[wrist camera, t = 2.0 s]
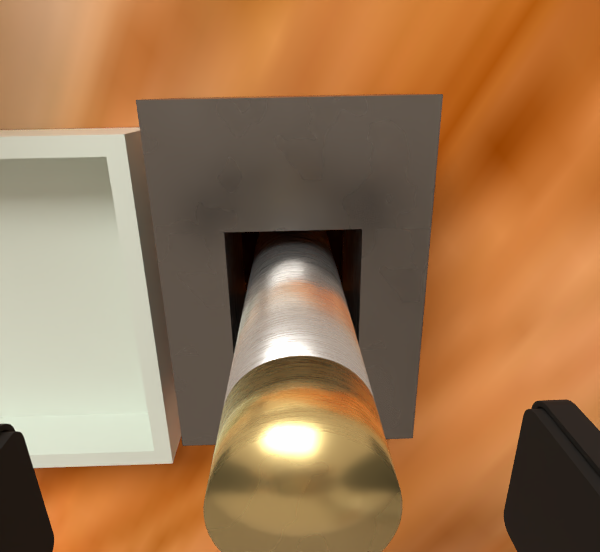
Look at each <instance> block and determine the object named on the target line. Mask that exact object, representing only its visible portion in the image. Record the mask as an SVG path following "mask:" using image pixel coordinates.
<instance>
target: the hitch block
mask: <svg viewBox="0 0 600 552" xmlns="http://www.w3.org/2000/svg"><path fill="white" fill-rule="evenodd" d="M442 98H443V94H381V95H326V96H271V97H217V98H171V99H148V100H136V104H137V112H138V119H139V126H140V134H141V141H142V149H143V156H144V163H145V171H146V178H147V185H148V193H149V200H150V208H151V215H152V222H153V230H154V237H155V245H156V252H157V259H158V267H159V274H160V282H161V289H162V296H163V304H164V311H165V319H166V326H167V333H168V341H169V348H170V356H171V363H172V370H173V378H174V385H175V392H176V400H177V407H178V415H179V422H180V429H181V437H182V444H183V446H188V445H216V440H217V435H218V431H219V426H220V421H221V416H222V411H223V406H224V401H225V396H226V391H227V386H228V381H229V376H230V371H231V366H232V361H233V357H234V352H235V347H236V342H237V337H238V332H239V327H240V322H241V317H242V312H243V307H244V302H245V297H246V291H245V276H244V260H243V245H242V232H259V231H301V230H343V258H342V288H343V292H344V295H345V299H346V302H347V306H348V309H349V313H350V316H351V320H352V323H353V327H354V330H355V334H356V337H357V341H358V344H359V348H360V351H361V355H362V358H363V362H364V365H365V369H366V372H367V376H368V379H369V383H370V386H371V390H372V393H373V397H374V400H375V404H376V407H377V410H378V414H379V417H380V421H381V424H382V428H383V431H384V435H385V438H386V439H403V438H413V428H414V417H415V406H416V394H417V383H418V371H419V360H420V349H421V337H422V326H423V314H424V303H425V292H426V280H427V269H428V257H429V246H430V235H431V223H432V212H433V201H434V189H435V178H436V166H437V155H438V144H439V132H440V121H441V109H442Z"/></svg>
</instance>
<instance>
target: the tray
mask: <svg viewBox="0 0 600 552" xmlns="http://www.w3.org/2000/svg"><path fill="white" fill-rule="evenodd" d="M0 424H11V425H12V426H13V427H14V429H15V431H19V432H21V433H22V434H23V436H24V439H25V442H26V445H27V449H28V452H29V455H30V458H31V462H32V465H33V468H49V467H79V466H109V465H140V464H170V463H173V461H174V458H175V455H176V451H177V448H178V445H179V441H180V438H181V429H180V422H179V415H178V407H177V400H176V392H175V385H174V378H173V370H172V363H171V356H170V348H169V341H168V333H167V326H166V319H165V311H164V304H163V296H162V289H161V282H160V274H159V267H158V259H157V252H156V245H155V237H154V230H153V222H152V215H151V208H150V200H149V193H148V185H147V178H146V171H145V163H144V156H143V149H142V141H141V134H140V127H133V128H82V129H31V130H0Z"/></svg>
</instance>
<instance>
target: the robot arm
mask: <svg viewBox="0 0 600 552" xmlns="http://www.w3.org/2000/svg"><path fill="white" fill-rule="evenodd" d="M504 522H505V526H506V529H507V532H508V534H509V536H510V538H511V540H512V542H513V544H514V546H515V548H516V550H517V552H600V431H599V430H598V429H597V428H596V427H595V425H594V424H593V423H592V422H591V421H590V420H589V419H588V418H587V417H586V416H585V415H584V414H583V413H582V411H581V410H580V409H579V408H578V407H577V406H576V405H575V404H574V403H573V402H571V401H569V400H546V401H536V402H535V403H534V404H533V406H532V409H528V410H526V411H525V413H524V416H523V421H522V426H521V430H520V435H519V440H518V445H517V450H516V455H515V460H514V465H513V470H512V475H511V480H510V484H509V489H508V494H507V499H506V504H505V509H504ZM53 546H54V535H53V531H52V528H51V524H50V521H49V518H48V515H47V511H46V508H45V505H44V501H43V498H42V495H41V491H40V488H39V485H38V482H37V478H36V475H35V472H34V468H33V465H32V462H31V458H30V455H29V452H28V449H27V445H26V442H25V439H24V436H23V434H22V433H21V432H19V431H15V429H14V427H13V426H12V425H11V424H0V552H52V551H53Z"/></svg>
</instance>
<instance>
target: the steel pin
mask: <svg viewBox="0 0 600 552" xmlns="http://www.w3.org/2000/svg"><path fill="white" fill-rule="evenodd" d="M401 514H402V496H401V491H400V487H399V484H398V480H397V477H396V473H395V470H394V466H393V463H392V459H391V456H390V452H389V449H388V445H387V442H386V438H385V435H384V431H383V428H382V424H381V421H380V417H379V414H378V410H377V407H376V404H375V400H374V397H373V393H372V390H371V386H370V383H369V379H368V376H367V372H366V369H365V365H364V362H363V358H362V355H361V351H360V348H359V344H358V341H357V337H356V334H355V330H354V327H353V323H352V320H351V316H350V313H349V309H348V306H347V302H346V299H345V295H344V292H343V288H342V285H341V281H340V278H339V274H338V271H337V268H336V264H335V261H334V257H333V254H332V250H331V247H330V243H329V240H328V236H327V233H326V231H325V230H301V231H260V232H259V235H258V238H257V243H256V248H255V253H254V258H253V263H252V268H251V273H250V278H249V283H248V287H247V292H246V297H245V302H244V307H243V312H242V317H241V322H240V327H239V332H238V337H237V342H236V347H235V352H234V357H233V361H232V366H231V371H230V376H229V381H228V386H227V391H226V396H225V401H224V406H223V411H222V416H221V421H220V426H219V431H218V435H217V440H216V445H215V450H214V455H213V460H212V465H211V470H210V475H209V480H208V485H207V490H206V495H205V501H204V520H205V524H206V528H207V530H208V533H209V535H210V537H211V539H212V541H213V542H214V544H215V545H216V546H217V548H218V549H219V550H220V551H221V552H381V551H382V550H383V549H384V548H385V547H386V546H387V545H388V544H389V542H390V541H391V539H392V538H393V536H394V534H395V533H396V531H397V529H398V526H399V523H400V520H401Z"/></svg>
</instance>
